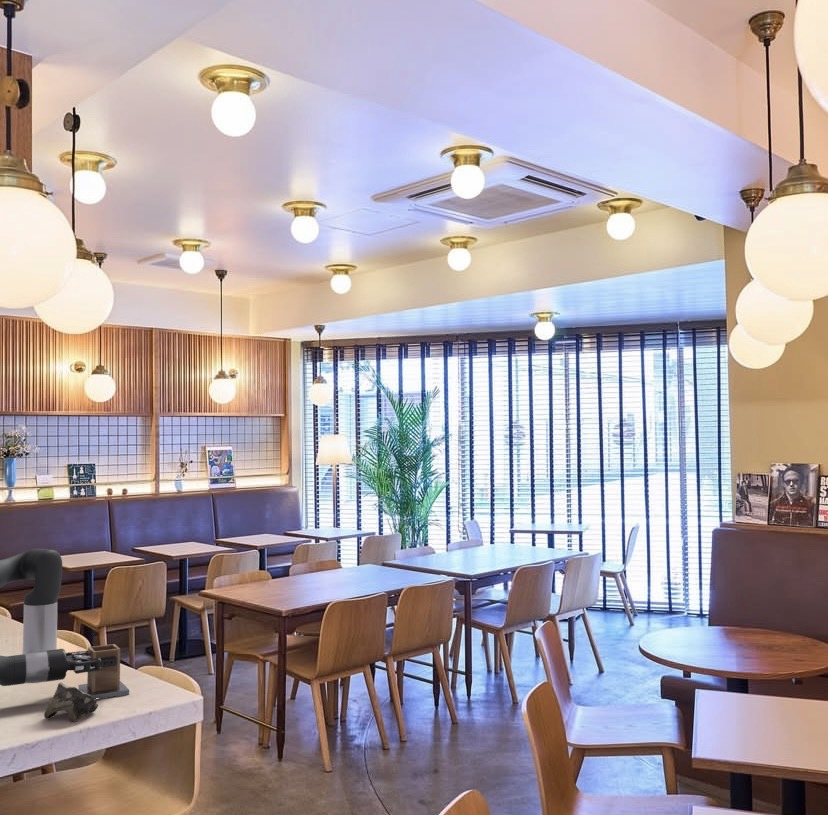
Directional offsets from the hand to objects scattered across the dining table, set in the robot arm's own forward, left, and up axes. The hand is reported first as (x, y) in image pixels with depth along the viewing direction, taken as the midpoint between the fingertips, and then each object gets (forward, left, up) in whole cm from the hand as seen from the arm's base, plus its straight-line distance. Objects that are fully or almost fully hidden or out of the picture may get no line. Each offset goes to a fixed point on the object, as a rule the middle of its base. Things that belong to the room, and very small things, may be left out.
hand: (112, 657), depth 213 cm
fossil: (+17, -12, -9) cm, 22 cm away
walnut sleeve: (0, -2, -7) cm, 8 cm away
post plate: (0, -2, -8) cm, 9 cm away
